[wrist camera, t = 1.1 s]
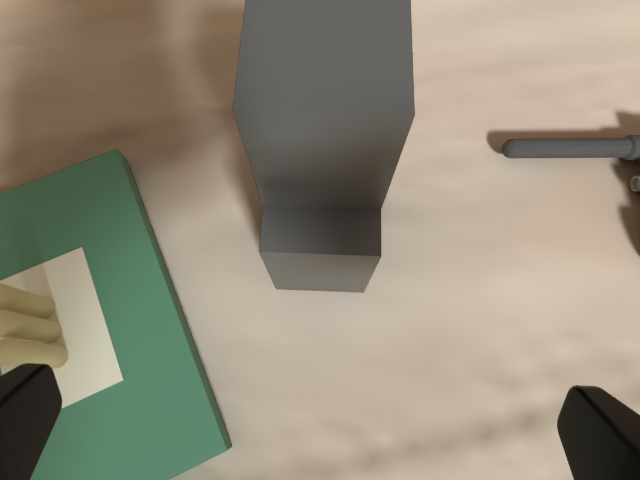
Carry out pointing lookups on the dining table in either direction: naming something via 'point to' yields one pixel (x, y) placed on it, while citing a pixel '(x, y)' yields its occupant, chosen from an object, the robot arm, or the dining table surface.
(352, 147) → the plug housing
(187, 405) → the board
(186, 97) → the dining table surface
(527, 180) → the dining table surface
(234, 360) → the dining table surface
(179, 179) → the dining table surface
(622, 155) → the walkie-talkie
